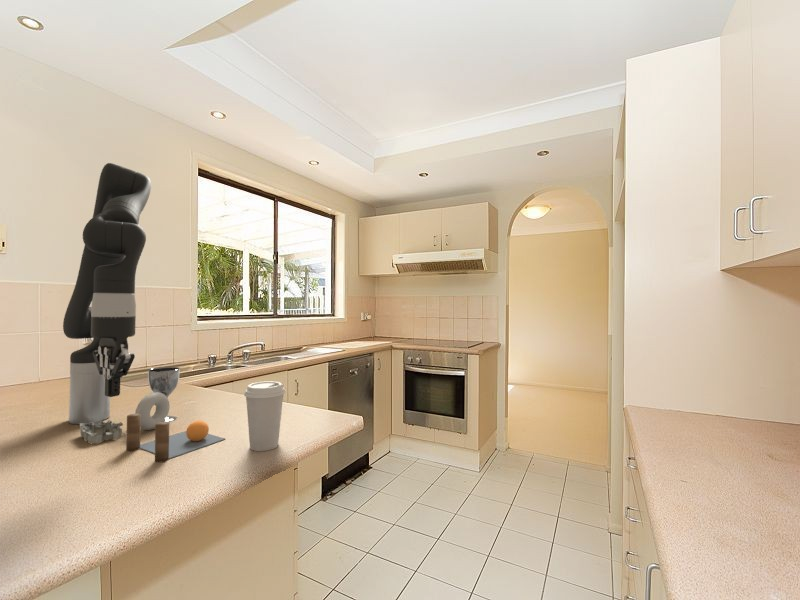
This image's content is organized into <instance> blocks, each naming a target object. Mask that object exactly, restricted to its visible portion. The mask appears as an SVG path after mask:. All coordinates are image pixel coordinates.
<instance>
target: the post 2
mask: <svg viewBox="0 0 800 600" xmlns="http://www.w3.org/2000/svg"><path fill="white" fill-rule="evenodd" d="M154 430H155V433H154V434H155V435H154V438H155V439H154V440H155V454H154V462H155V463H164V462H167V461H168V460H170V459H169V436H170V422H160V423H157V424H155V429H154Z"/></svg>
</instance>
